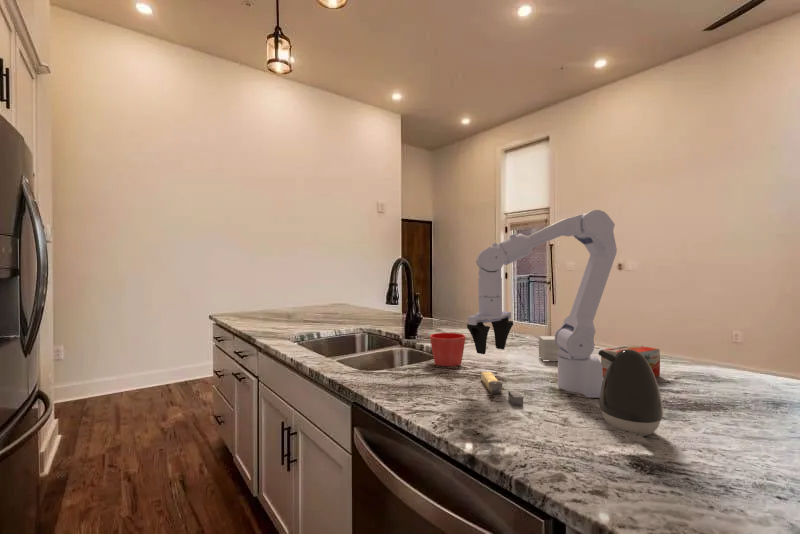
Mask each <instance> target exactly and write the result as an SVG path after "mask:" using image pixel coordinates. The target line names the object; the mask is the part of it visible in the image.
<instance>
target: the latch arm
mask: <svg viewBox="0 0 800 534" xmlns="http://www.w3.org/2000/svg"><path fill="white" fill-rule="evenodd" d="M480 378H481V381H482V383H483V384H484V386H485V387H486V389H487V390H488V394H491V395H496V396H497V395H498V396H499V395H503V382H500V381H499V380H498V379H497V378H496V377H495V375H494V374H493V372H491V371H481V376H480Z"/></svg>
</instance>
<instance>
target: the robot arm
mask: <svg viewBox="0 0 800 534" xmlns="http://www.w3.org/2000/svg"><path fill="white" fill-rule="evenodd" d="M614 228H615V222H614V221H613V219H612V218H611V217H610V216H609V215H608V213H607V212H605V211H603V210H600V209H593V210H590V211H588V212H587V213H582V214H577V215H574V216H571V217H567V218H564V219H561V220H558V221H556V222H554V223H553V224H552V223H551V224H550V225H548V226H546V227H544V228H542V229H540V230H537V231H535V232H533V233H532V234H530V235H525V234H522V233H518V234H516V233H513V234H511V235H509V237H508V238H507V239H505V240H503V241H500V242H499V243H497V242H495V243H492V244H491V246H489V247H487V248H485V249H482V250H481V251H480V252H479V253H478V255H477V257H476V258H477V259H476V261H475V263H476V265H477V267H478V278H477V281H478V284H477V285H478V287H477V288H478V312H476V313H475V314H474V315H473V314H472V315H469V316H468V317H467V323H466V328H467V330H468V332H469V333H470V335H471V338H472V339H473V343H474V346H475V350H476V354H481V355H486V351H487V339H488V334H489V331H490V328H491V326H492V328H493V329H492V330H493V334H494V344H495V348H496V349H498V350H505V348H506V344H507V340H508V336H509V335H510V334H509V333H510V332H511V330H512V327H513V326H514V321H513V320H512V312H511V311H503V281H502V280H503V278H502V268H503V266H504V265H505V266H508V265H510V264H512V263H514V262H516V261H519V260H521V259H524V258H526V257H528V256H530V255H531V253H532V251H533V248H536V247H537V246H538V247H539V245H542V244H544V243H547V242H549V241H552V240H554V239H557V238H560V237H561V236H564V237H574V238H575V239H576V240H577V241H579V242H580V244H583V245H584V247H585V249H586V250H587V252H588V253H589V258H588V260H587V263H586V266H585V269H584V272H583V275H582V278H581V281H580V284H579V286H578V289H577V293H576V295H575V299H574V301H573V304H572V308H571V310H570V313H569V315H568V316H566V318H565V319H564V320H563V323H562V325H561V326H560V327H559V329H557V331H555V335H554V336H555V342H556V344H557V346H558V347H559V348H560V349H559V351H558V362H557V387H558V388H559V389H561V390H563V391H567V392H571V393H580V394H582V395H584V396H585V397H586V398H588V399H590V398H598V399H600V392H601V386H602V382H603V379H604V377H603V370H602V365H601V359H599V358H598V357H596V356H593V355H592V354H593V352H594V351H595V340H594V339H595V334H596V328H595V325H594V319H595V317H596V314H597V312H598V311H597V310H598V308H599V304H600V303H601V299H602V296H603V293H604V291H605V288H606V285H607V281H608V279H609V276H610V273H611V270H612V267H613V264H614V261H615V259H616V256H617V252H618V251H617V250H618V248H617V243H616V239H615V234H614ZM486 323H487V324H488V323H491V326H488V325H485V324H486ZM591 355H592V356H591Z"/></svg>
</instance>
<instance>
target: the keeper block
mask: <svg viewBox="0 0 800 534" xmlns="http://www.w3.org/2000/svg"><path fill="white" fill-rule="evenodd" d="M507 394H508V398H507V399H508V401H509V402H510V403H511V405H512V406H513V407H524V396H523V395H522V394H521V393H520V392H519V391H518V390H508V393H507Z"/></svg>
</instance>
